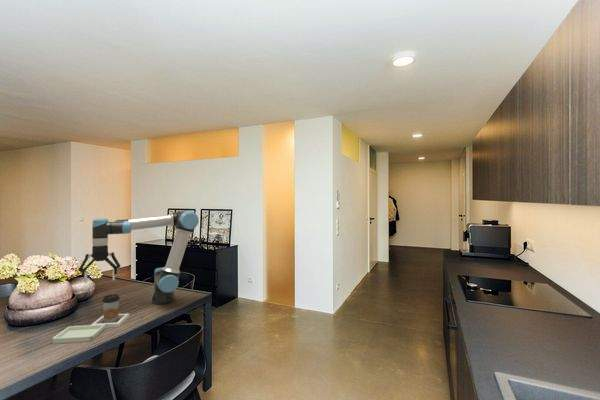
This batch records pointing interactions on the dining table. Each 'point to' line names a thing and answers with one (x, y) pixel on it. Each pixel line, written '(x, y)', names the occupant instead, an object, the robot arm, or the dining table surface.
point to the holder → (111, 325)
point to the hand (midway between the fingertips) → (100, 281)
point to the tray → (78, 334)
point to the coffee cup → (111, 308)
